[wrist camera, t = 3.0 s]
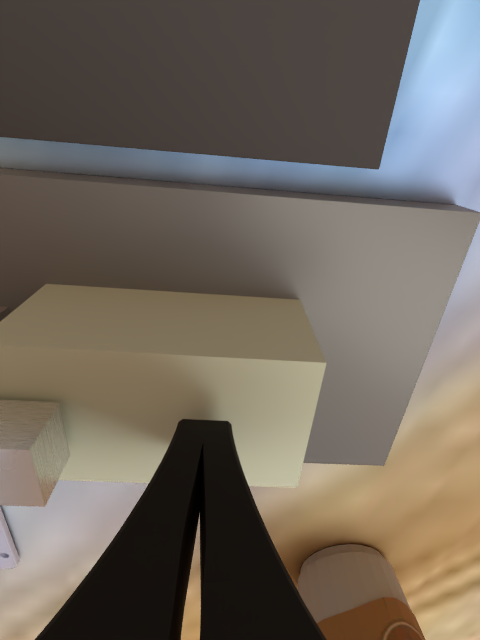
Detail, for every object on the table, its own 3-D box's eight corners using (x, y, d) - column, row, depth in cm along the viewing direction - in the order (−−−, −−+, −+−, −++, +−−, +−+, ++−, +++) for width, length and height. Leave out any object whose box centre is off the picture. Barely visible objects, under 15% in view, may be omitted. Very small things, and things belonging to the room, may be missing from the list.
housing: (373, 441, 19) (423, 551, 14) (-68, 424, 17) (-186, 539, 12) (456, 205, 13) (593, 249, 8) (-187, 152, 12) (-485, 167, 7)
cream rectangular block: (281, 405, 15) (297, 487, 12) (67, 395, 15) (15, 478, 11) (300, 299, 13) (326, 362, 9) (46, 283, 12) (-28, 344, 9)
